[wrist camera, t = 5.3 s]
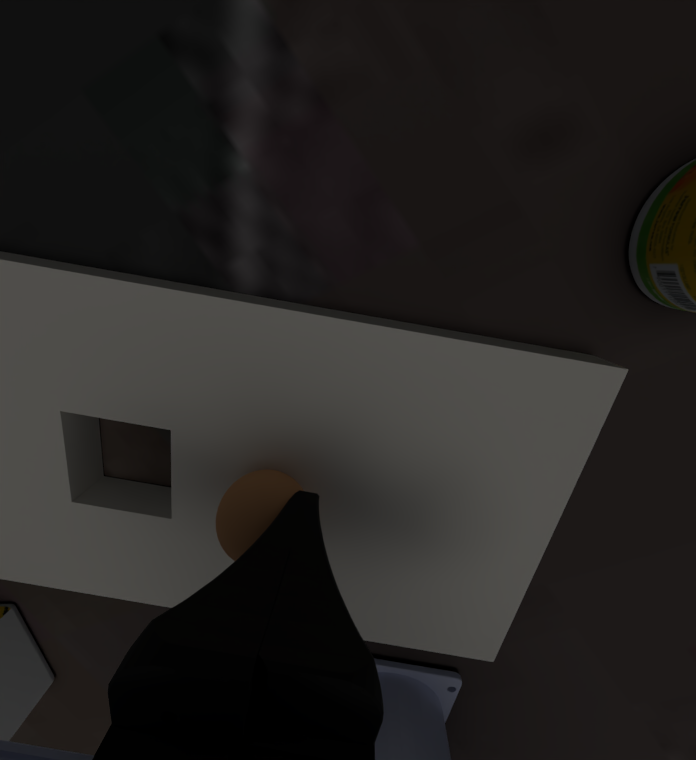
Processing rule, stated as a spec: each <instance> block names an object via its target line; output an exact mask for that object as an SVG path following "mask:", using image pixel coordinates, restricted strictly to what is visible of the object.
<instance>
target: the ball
mask: <svg viewBox="0 0 696 760" xmlns="http://www.w3.org/2000/svg"><path fill="white" fill-rule="evenodd" d="M299 490H301V491H304V490H303V489H302V487H301V486H300V485H299V483H298V482H297V481H296V480H295V479H293V478H292V477H291V476H289V475H287V474H285V473H283V472H280V471H277V470H269V469H265V470H258V471H254V472H251V473H248V474H246V475H244V476H242V477H241V478H239V479H238V480H237V481H235V482H234V483H233V484H232V485H231V486H230V487H229V488H228V490H227V491H226V492H225V494H224V496H223V497H222V499H221V501H220V504H219V506H218V510H217V514H216V533H217V537H218V540H219V543H220V545H221V547H222V548H223V550H224V551H225V553H226V554H227V555H228V556H229V557H230V558H231V559H233V560H234V561H236V560H237V559H238V558H239V557H240V556H241V555H242V554H243V553H244V552H245V551H246V550H247V549H248V548H249V547H250V546H251V545H252V544H253V543H254V542H255V541H256V540H257V539H258V538H259V537H260V536H261V535H262V534H263V532H264V531H265V530H266V529H267V528H268V527H269V526H270V524H271V523H272V522H273V521H274V519H275V518H276V517H277V516H278V514H279V513H280V512H281V510H282V509H283V507H284V506H285V505H286V503H287V502H288V500H289V499H290V498H291V497H292V496H293V495H294V493H296V492H298V491H299Z"/></svg>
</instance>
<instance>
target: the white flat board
mask: <svg viewBox="0 0 696 760" xmlns="http://www.w3.org/2000/svg"><path fill="white" fill-rule="evenodd" d="M628 370H629V369H626V368H624V367H621V366H619V365H616V364H614V363H611V362H609V361H606V360H604V359H602V358H599V357H597V356H594V355H589V354H583V353H578V352H572V351H566V350H561V349H555V348H549V347H544V346H538V345H532V344H526V343H521V342H515V341H509V340H504V339H498V338H492V337H486V336H481V335H475V334H469V333H464V332H458V331H452V330H447V329H441V328H435V327H429V326H424V325H418V324H412V323H407V322H401V321H395V320H389V319H384V318H378V317H372V316H367V315H361V314H355V313H350V312H344V311H338V310H332V309H327V308H321V307H315V306H310V305H304V304H298V303H293V302H287V301H281V300H275V299H270V298H264V297H258V296H253V295H247V294H241V293H235V292H230V291H224V290H218V289H213V288H207V287H201V286H196V285H190V284H184V283H178V282H173V281H167V280H161V279H156V278H150V277H144V276H138V275H133V274H127V273H121V272H116V271H110V270H104V269H99V268H93V267H87V266H81V265H76V264H70V263H64V262H59V261H53V260H47V259H42V258H36V257H30V256H24V255H19V254H13V253H7V252H2V251H0V579H4V580H10V581H16V582H22V583H28V584H34V585H40V586H46V587H51V588H57V589H63V590H69V591H75V592H81V593H87V594H93V595H99V596H105V597H111V598H117V599H123V600H129V601H135V602H140V603H146V604H152V605H158V606H164V607H170V608H173V607H174V606H176V605H178V604H179V603H181V602H182V601H184V600H185V599H187V598H188V597H190V596H191V595H193V594H194V593H195V592H197V591H198V590H199V589H201V588H202V587H204V586H205V585H206V584H208V583H209V582H211V581H212V580H213V579H214V578H216V577H217V576H218V575H219V574H221V573H222V572H223V571H224V570H225V569H227V568H228V567H229V566H230V565H231V564H232V563H234V562H235V561H234V560H233V559H231V558H230V557H229V556H228V555H227V554H226V553H225V551H224V550H223V548H222V547H221V545H220V543H219V540H218V537H217V533H216V514H217V510H218V506H219V504H220V501H221V499H222V497H223V496H224V494H225V492H226V491H227V490H228V488H229V487H230V486H231V485H232V484H233V483H234V482H235V481H237V480H238V479H239V478H241V477H242V476H244V475H246V474H248V473H251V472H254V471H258V470H265V469H269V470H277V471H280V472H283V473H285V474H287V475H289V476H291V477H292V478H293V479H295V480H296V481H297V482H298V483H299V485H300V486H301V487H302V489H303V490H304V491H306V492H312V493H317V494H318V495H319V496H320V497H319V515H320V523H321V529H322V535H323V540H324V544H325V548H326V552H327V556H328V560H329V563H330V566H331V569H332V572H333V575H334V578H335V581H336V584H337V586H338V589H339V591H340V594H341V596H342V598H343V600H344V603H345V605H346V607H347V609H348V611H349V614H350V616H351V618H352V620H353V622H354V624H355V626H356V628H357V629H358V631H359V633H360V635H361V637H362V639H363V640H366V641H372V642H378V643H384V644H390V645H395V646H401V647H407V648H413V649H419V650H425V651H431V652H437V653H443V654H449V655H455V656H461V657H467V658H473V659H479V660H484V661H490V662H494V659H495V657H496V655H497V653H498V651H499V649H500V646H501V644H502V642H503V640H504V638H505V636H506V633H507V631H508V629H509V627H510V625H511V623H512V621H513V618H514V616H515V614H516V612H517V610H518V608H519V605H520V603H521V601H522V599H523V597H524V595H525V592H526V590H527V588H528V586H529V584H530V582H531V579H532V577H533V575H534V573H535V571H536V569H537V566H538V564H539V562H540V560H541V558H542V556H543V554H544V551H545V549H546V547H547V545H548V543H549V541H550V538H551V536H552V534H553V532H554V530H555V528H556V525H557V523H558V521H559V519H560V517H561V515H562V512H563V510H564V508H565V506H566V504H567V502H568V499H569V497H570V495H571V493H572V491H573V489H574V487H575V484H576V482H577V480H578V478H579V476H580V474H581V471H582V469H583V467H584V465H585V463H586V461H587V458H588V456H589V454H590V452H591V450H592V448H593V445H594V443H595V441H596V439H597V437H598V435H599V433H600V430H601V428H602V426H603V424H604V422H605V420H606V417H607V415H608V413H609V411H610V409H611V407H612V404H613V402H614V400H615V398H616V396H617V394H618V391H619V389H620V387H621V385H622V383H623V381H624V378H625V376H626V374H627V372H628ZM99 418H104V419H109V420H115V421H121V422H127V423H133V424H138V425H144V426H150V427H156V428H162V429H167V430H171V487H165V486H159V485H153V484H147V483H141V482H136V481H130V480H124V479H118V478H112V477H106V476H104V473H103V461H102V450H101V438H100V426H99Z"/></svg>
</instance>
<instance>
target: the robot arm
mask: <svg viewBox="0 0 696 760" xmlns="http://www.w3.org/2000/svg"><path fill="white" fill-rule="evenodd" d="M319 497H320V496H319V495H318V494H317V493H312V492H306V491H301V490H299V491H298V492H296V493H294V495H293V496H292V497H291V498H290V499H289V500H288V502H287V503H286V505H285V506H284V507H283V509H282V510H281V512H280V513H279V514H278V516H277V517H276V518H275V519H274V521H273V522H272V523H271V524H270V526H269V527H268V528H267V529H266V530H265V531H264V532H263V534H262V535H261V536H260V537H259V538H258V539H257V540H256V541H255V542H254V543H253V544H252V545H251V546H250V547H249V548H248V549H247V550H246V551H245V552H244V553H243V554H242V555H241V556H240V557H239V558H238V559H237V560H236V561H235V562H234V563H232V564H231V565H230V566H229V567H228V568H227V569H225V570H224V571H223V572H222V573H221V574H219V575H218V576H217V577H216V578H214V579H213V580H212V581H211V582H209V583H208V584H206V585H205V586H204V587H202V588H201V589H199V590H198V591H197V592H195V593H194V594H193V595H191V596H190V597H188V598H187V599H185V600H184V601H182V602H181V603H179V604H178V605H176V606H174V607H173V608H171V609H169V610H168V611H166V612H165V613H163V614H161V615H160V616H158V617H156V618H155V619H153V620H152V621H151V622H150V623H149V624H148V626H147V627H146V628H145V629H144V631H143V632H142V633H141V634H140V636H139V637H138V639H137V640H136V641H135V643H134V644H133V645H132V647H131V648H130V649H129V651H128V652H127V654H126V656H125V657H124V659H123V661H122V662H121V664H120V666H119V668H118V669H117V671H116V673H115V674H114V676H113V678H112V680H111V681H110V683H109V686H108V698H109V705H110V713H111V721H112V724H111V726H110V728H109V730H108V732H107V733H106V735H105V737H104V739H103V741H102V743H101V744H100V746H99V748H98V750H97V752H96V754H95V755H88V754H82V753H76V752H70V751H64V750H58V749H52V748H46V747H40V746H34V745H28V744H22V743H16V742H10V741H4V740H0V760H451V756H450V750H449V745H448V739H447V733H446V727H445V722H446V720H447V718H448V715H449V713H450V711H451V708H452V706H453V704H454V702H455V699H456V697H457V695H458V692H459V690H460V688H461V685H462V680H461V676H460V674H458V673H457V672H453V671H447V670H441V669H435V668H429V667H423V666H417V665H411V664H406V663H400V662H394V661H388V660H382V659H376V658H374V657H373V655H372V654H371V652H370V650H369V649H368V647H367V646H366V644H365V642H364V640H363V639H362V637H361V635H360V633H359V631H358V629H357V628H356V626H355V624H354V622H353V620H352V618H351V616H350V614H349V611H348V609H347V607H346V605H345V603H344V600H343V598H342V596H341V594H340V591H339V589H338V586H337V584H336V581H335V578H334V575H333V572H332V569H331V566H330V563H329V560H328V556H327V552H326V548H325V544H324V540H323V535H322V529H321V523H320V515H319Z"/></svg>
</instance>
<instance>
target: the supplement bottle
mask: <svg viewBox="0 0 696 760" xmlns="http://www.w3.org/2000/svg"><path fill="white" fill-rule="evenodd" d="M629 264H630V268H631V272H632V275H633V277H634V280H635V282H636V284H637V285H638V287H639V288H640V289H641V291H642V292H643V293H644V294H645V295H646V296H648V297H649V298H650V299H652V300H653V301H655V302H657V303H659V304H661V305H664V306H666V307H670V308H674V309H679V310H684V311H689V312H695V313H696V158H695V159H693V160H692V161H690V162H688V163H687V164H685V165H683V166H682V167H680V168H679V169H678V170H676V171H675V172H673V173H672V174H671V175H670V176H669V177H667V178H666V179H665V180H664V181H663V182H662V183H661V184H660V185H659V186H658V187H657V188H656V190H655V191H654V192H653V193H652V194H651V195H650V197H649V198H648V200H647V201H646V202H645V204H644V206H643V207H642V209H641V211H640V213H639V215H638V217H637V219H636V221H635V224H634V227H633V230H632V233H631V238H630V243H629Z"/></svg>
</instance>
